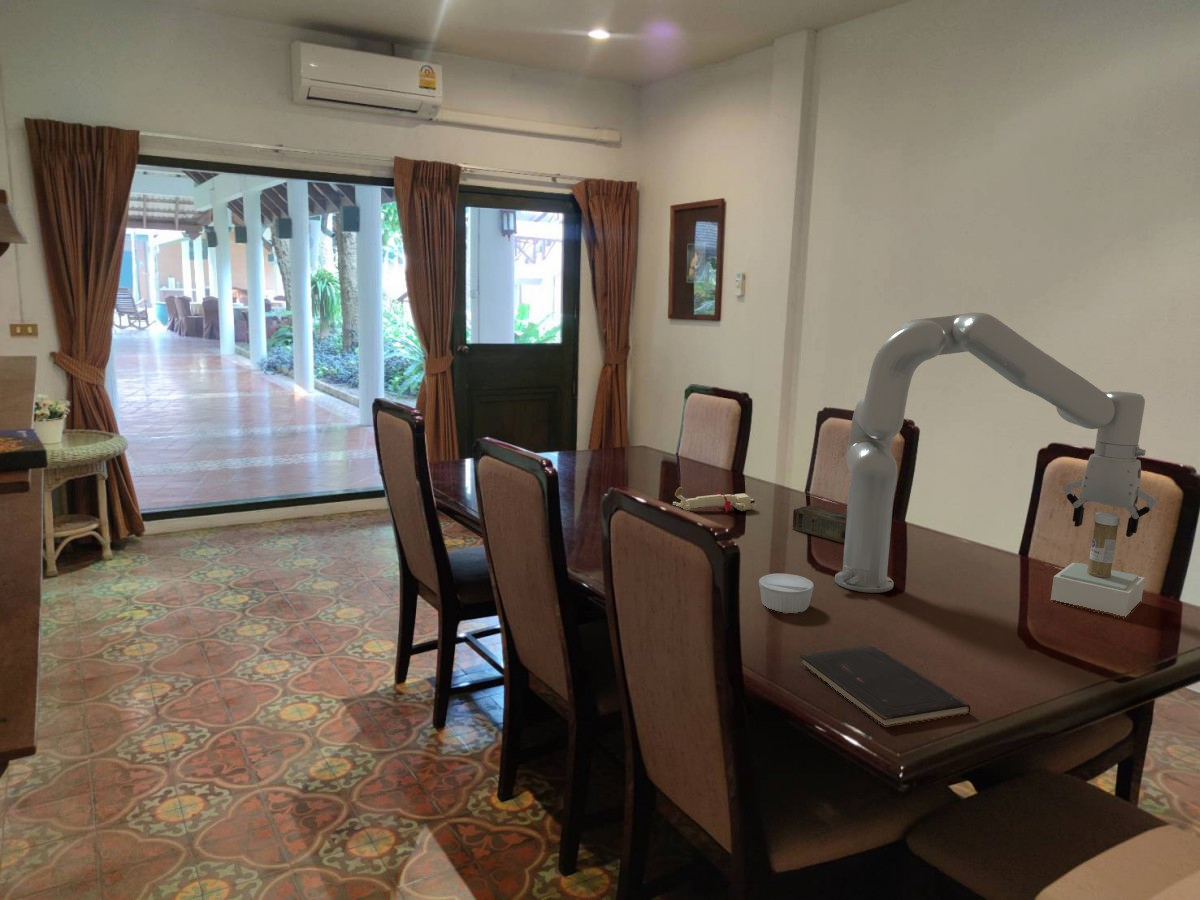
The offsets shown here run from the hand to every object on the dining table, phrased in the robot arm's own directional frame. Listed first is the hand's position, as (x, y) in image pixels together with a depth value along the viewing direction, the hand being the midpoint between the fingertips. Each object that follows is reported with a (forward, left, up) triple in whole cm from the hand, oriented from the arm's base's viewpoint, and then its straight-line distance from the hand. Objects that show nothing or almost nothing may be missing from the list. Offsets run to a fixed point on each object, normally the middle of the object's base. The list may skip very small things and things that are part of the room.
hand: (1103, 530), depth 176 cm
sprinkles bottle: (0, 0, -10) cm, 10 cm away
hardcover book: (-73, +14, -17) cm, 76 cm away
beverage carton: (+4, +65, -16) cm, 67 cm away
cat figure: (+2, +102, -16) cm, 103 cm away
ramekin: (-52, +45, -16) cm, 70 cm away
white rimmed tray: (0, 0, -16) cm, 16 cm away
